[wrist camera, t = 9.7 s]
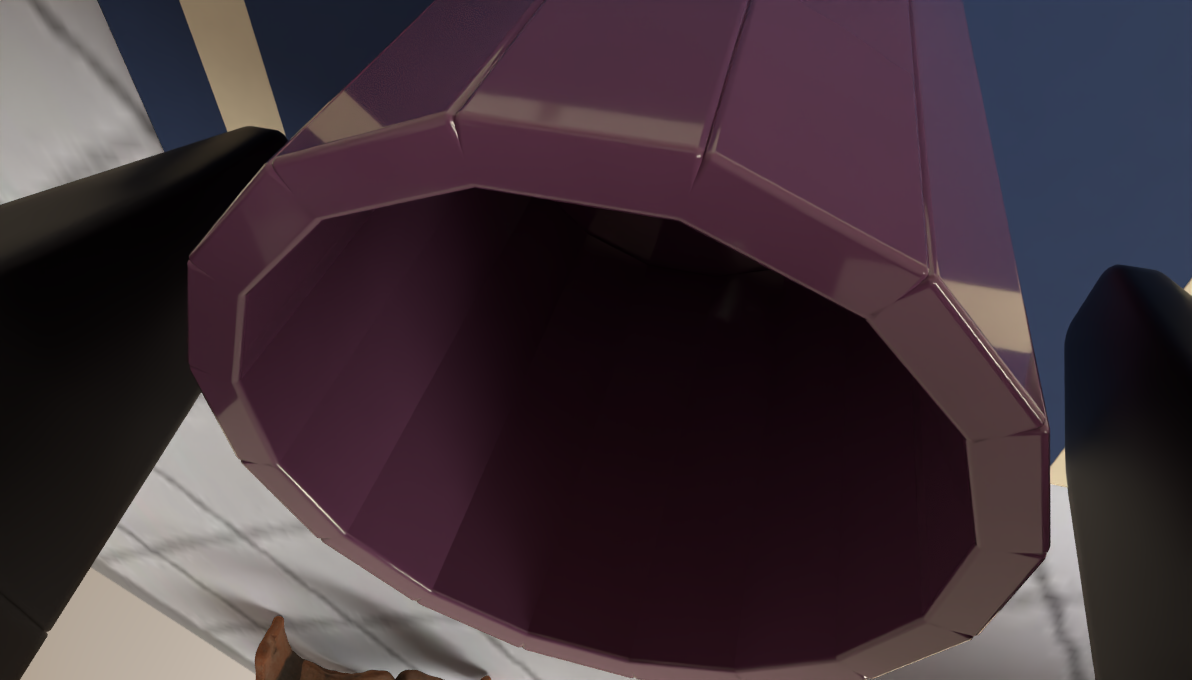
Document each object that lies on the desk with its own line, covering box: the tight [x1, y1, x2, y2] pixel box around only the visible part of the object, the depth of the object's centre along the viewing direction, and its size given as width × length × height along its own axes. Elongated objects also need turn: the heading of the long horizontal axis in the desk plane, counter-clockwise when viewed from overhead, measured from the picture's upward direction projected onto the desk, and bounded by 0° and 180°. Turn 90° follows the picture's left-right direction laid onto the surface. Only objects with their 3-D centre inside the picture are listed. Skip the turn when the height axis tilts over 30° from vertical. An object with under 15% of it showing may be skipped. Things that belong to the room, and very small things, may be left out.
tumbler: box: [187, 0, 1050, 680], centre depth 8 cm, size 6×6×7 cm
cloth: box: [97, 0, 1192, 487], centre depth 11 cm, size 20×14×1 cm
